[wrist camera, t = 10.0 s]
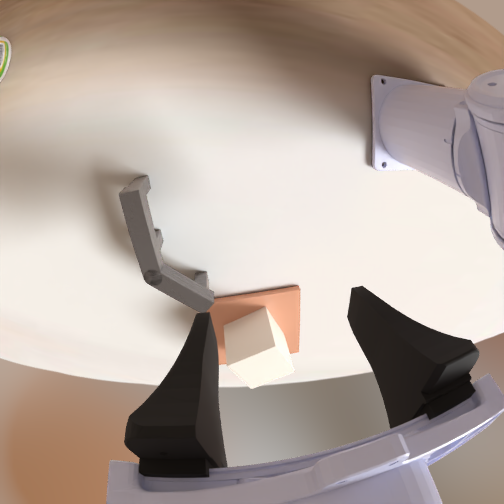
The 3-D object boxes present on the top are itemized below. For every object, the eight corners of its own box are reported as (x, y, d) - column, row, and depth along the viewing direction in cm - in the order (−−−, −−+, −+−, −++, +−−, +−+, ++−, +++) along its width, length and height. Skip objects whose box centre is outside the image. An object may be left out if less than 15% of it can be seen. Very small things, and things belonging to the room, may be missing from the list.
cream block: (265, 306, 26) (275, 345, 22) (284, 334, 28) (295, 371, 24) (223, 325, 27) (226, 366, 22) (245, 350, 29) (251, 388, 25)
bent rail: (193, 167, 20) (189, 180, 17) (215, 284, 25) (216, 312, 22) (133, 178, 19) (118, 194, 16) (164, 291, 25) (159, 319, 22)
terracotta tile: (298, 285, 26) (300, 289, 26) (297, 348, 31) (298, 352, 30) (201, 300, 26) (201, 304, 25) (218, 360, 30) (218, 364, 30)
